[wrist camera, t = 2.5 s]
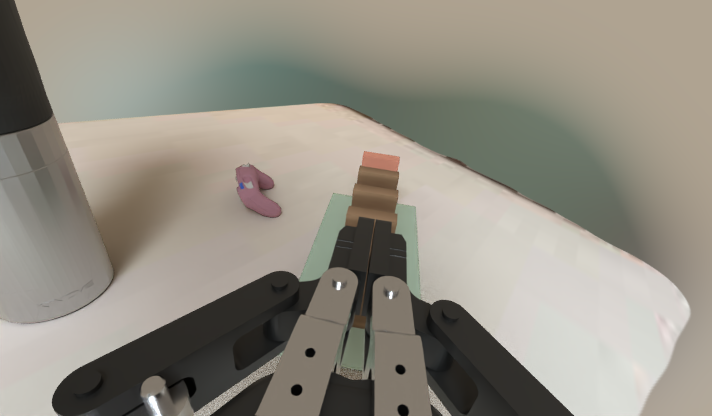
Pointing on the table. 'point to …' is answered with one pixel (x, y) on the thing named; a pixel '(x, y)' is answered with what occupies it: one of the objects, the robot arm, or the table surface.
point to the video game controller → (256, 190)
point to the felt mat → (325, 248)
